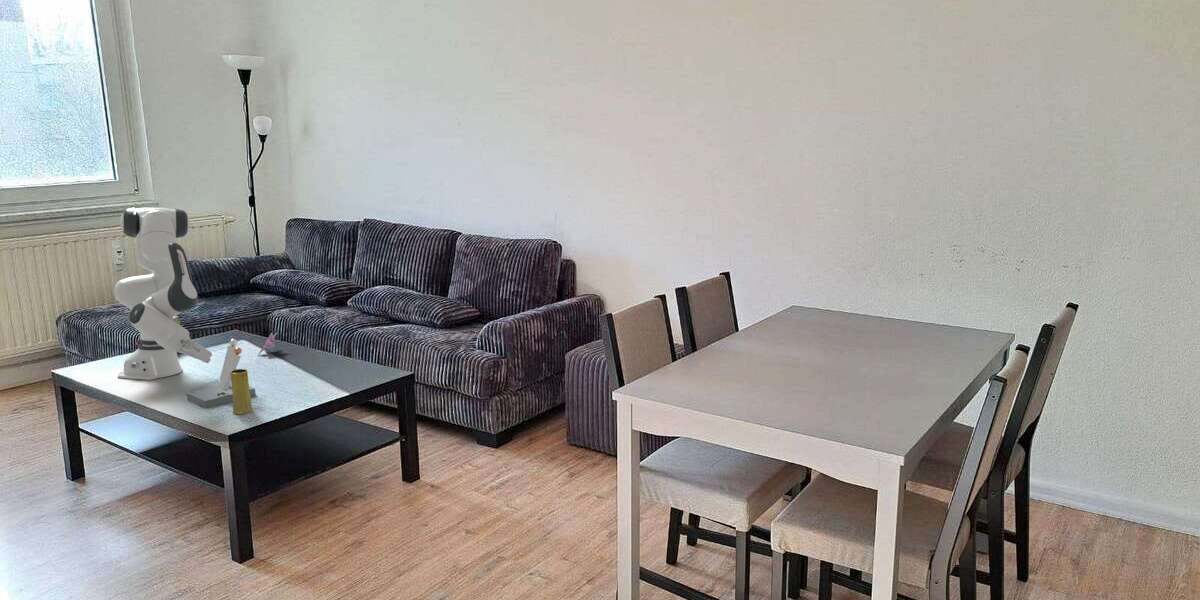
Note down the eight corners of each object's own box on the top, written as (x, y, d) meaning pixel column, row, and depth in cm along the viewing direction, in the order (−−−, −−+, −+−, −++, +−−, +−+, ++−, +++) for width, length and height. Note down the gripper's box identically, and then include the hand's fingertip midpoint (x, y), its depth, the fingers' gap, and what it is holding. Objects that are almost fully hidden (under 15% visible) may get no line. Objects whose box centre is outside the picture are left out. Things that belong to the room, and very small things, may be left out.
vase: (236, 408, 293) (232, 368, 290) (255, 408, 294) (251, 368, 291) (230, 414, 287) (226, 373, 284) (249, 414, 288) (245, 373, 285)
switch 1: (222, 382, 308) (233, 339, 309) (218, 380, 310) (228, 337, 311) (229, 382, 310) (240, 340, 311) (225, 380, 312) (235, 338, 313)
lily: (280, 350, 371) (266, 332, 368) (295, 343, 364) (282, 325, 361) (260, 365, 361) (246, 347, 359) (275, 359, 355) (261, 340, 352)
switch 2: (221, 390, 299) (238, 347, 301) (216, 388, 301) (233, 345, 304) (228, 391, 301) (244, 349, 303) (223, 389, 303) (240, 347, 305)
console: (205, 408, 295) (204, 399, 294) (187, 399, 304) (186, 391, 303) (255, 395, 308) (254, 387, 307) (236, 387, 317) (236, 379, 316)
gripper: (195, 335, 281) (227, 358, 290) (168, 326, 294) (199, 348, 303) (183, 352, 278) (216, 374, 287) (156, 341, 291) (188, 363, 301)
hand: (207, 360), depth 295 cm, fingers closed
